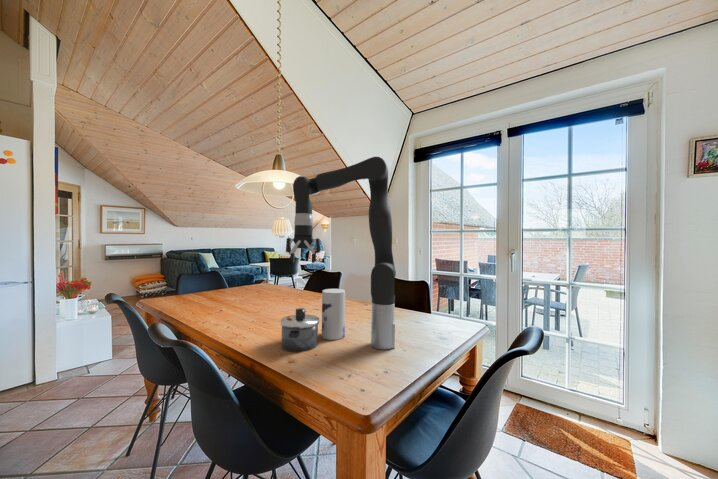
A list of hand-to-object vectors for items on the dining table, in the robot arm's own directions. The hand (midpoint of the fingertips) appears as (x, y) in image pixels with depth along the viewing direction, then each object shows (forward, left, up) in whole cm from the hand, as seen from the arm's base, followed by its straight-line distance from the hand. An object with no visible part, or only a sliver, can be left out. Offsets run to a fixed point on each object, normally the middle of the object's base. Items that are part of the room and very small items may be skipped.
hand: (303, 262), depth 119 cm
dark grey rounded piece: (-1, +8, -32) cm, 33 cm away
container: (-13, -3, -32) cm, 35 cm away
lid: (-1, +8, -23) cm, 24 cm away
